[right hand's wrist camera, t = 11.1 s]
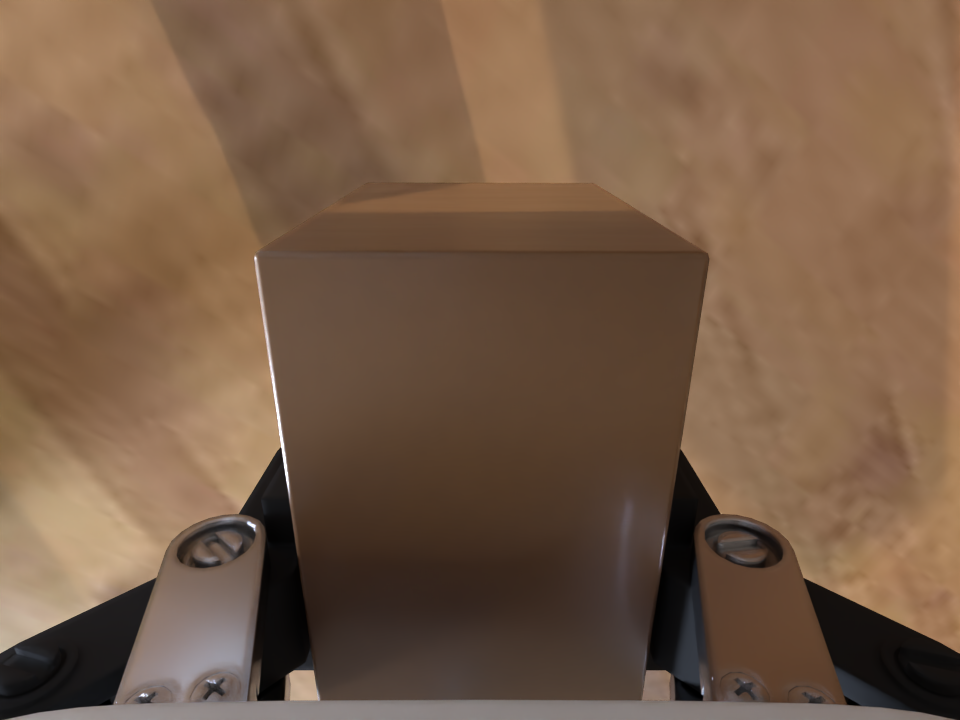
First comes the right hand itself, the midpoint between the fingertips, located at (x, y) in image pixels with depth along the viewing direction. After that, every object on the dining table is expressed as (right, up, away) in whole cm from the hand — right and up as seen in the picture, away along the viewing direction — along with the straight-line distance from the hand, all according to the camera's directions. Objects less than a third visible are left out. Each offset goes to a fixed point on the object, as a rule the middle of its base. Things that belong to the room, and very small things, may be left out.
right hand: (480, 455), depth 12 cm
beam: (0, -19, +10) cm, 22 cm away
